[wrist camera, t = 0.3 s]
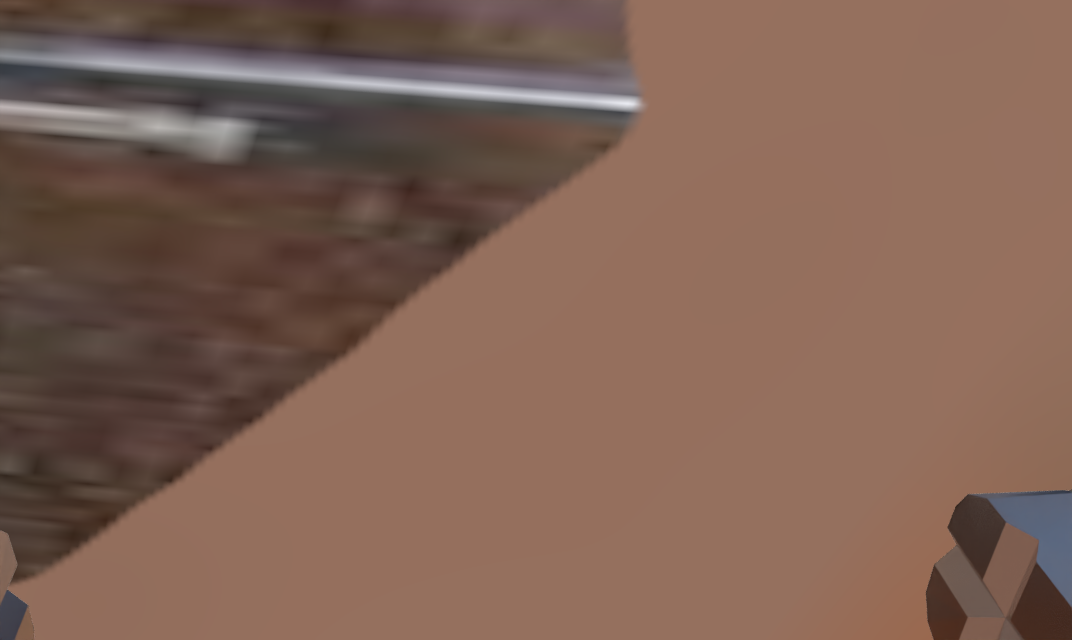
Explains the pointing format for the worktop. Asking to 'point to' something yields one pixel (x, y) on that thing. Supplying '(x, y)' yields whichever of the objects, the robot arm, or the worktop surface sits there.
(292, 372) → the worktop surface
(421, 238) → the worktop surface
